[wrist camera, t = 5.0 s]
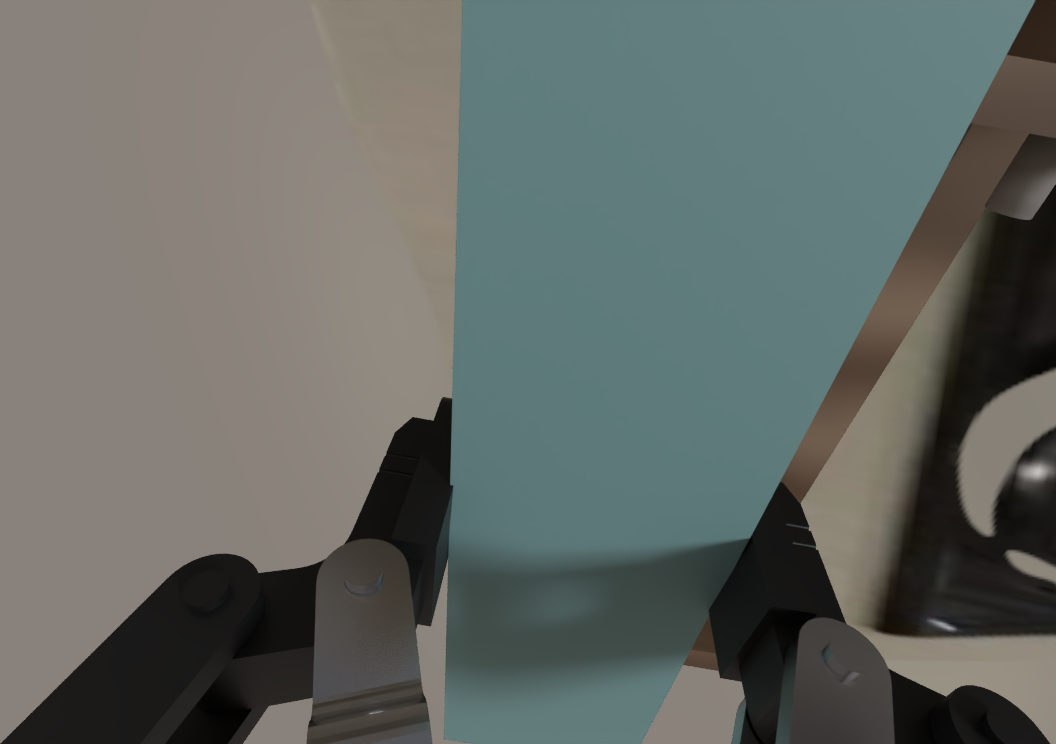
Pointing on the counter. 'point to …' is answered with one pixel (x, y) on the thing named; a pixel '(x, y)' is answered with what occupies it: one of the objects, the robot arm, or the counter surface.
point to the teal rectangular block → (662, 311)
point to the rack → (944, 237)
